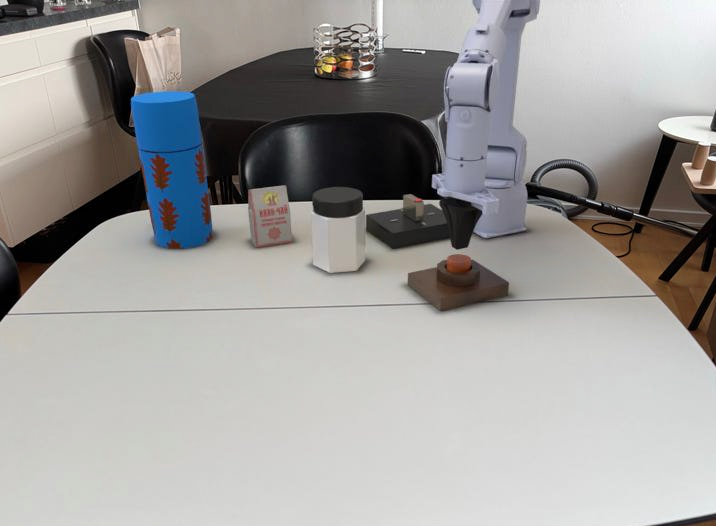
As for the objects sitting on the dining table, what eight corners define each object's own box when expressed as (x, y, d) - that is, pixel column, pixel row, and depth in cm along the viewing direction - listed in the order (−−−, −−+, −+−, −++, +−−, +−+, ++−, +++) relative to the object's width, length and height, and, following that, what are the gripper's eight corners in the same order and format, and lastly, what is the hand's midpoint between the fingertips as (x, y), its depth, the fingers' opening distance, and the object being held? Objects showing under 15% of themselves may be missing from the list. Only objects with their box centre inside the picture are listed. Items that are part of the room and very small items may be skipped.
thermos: (200, 250, 122) (179, 103, 109) (144, 247, 124) (117, 102, 111) (222, 229, 131) (205, 91, 118) (170, 226, 133) (148, 90, 120)
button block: (471, 271, 112) (473, 248, 110) (508, 295, 105) (510, 271, 102) (407, 285, 108) (408, 262, 106) (440, 311, 100) (441, 286, 98)
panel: (429, 218, 135) (430, 202, 133) (460, 236, 126) (461, 219, 124) (365, 229, 130) (365, 213, 128) (392, 249, 121) (393, 232, 120)
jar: (326, 251, 121) (324, 183, 115) (370, 256, 119) (370, 188, 112) (306, 270, 114) (303, 200, 108) (352, 276, 111) (351, 205, 105)
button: (461, 262, 107) (462, 252, 106) (474, 271, 104) (475, 260, 103) (442, 267, 105) (442, 256, 104) (454, 275, 102) (455, 264, 102)
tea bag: (251, 240, 126) (245, 187, 121) (286, 235, 128) (282, 182, 123) (256, 247, 123) (250, 193, 118) (292, 242, 125) (288, 188, 120)
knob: (402, 213, 128) (403, 193, 126) (410, 212, 129) (410, 192, 127) (415, 222, 124) (416, 201, 122) (423, 220, 125) (424, 200, 123)
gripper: (415, 147, 100) (412, 235, 107) (470, 172, 89) (463, 269, 96) (456, 141, 102) (451, 228, 109) (515, 165, 91) (505, 260, 98)
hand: (459, 247), depth 103 cm, fingers closed
